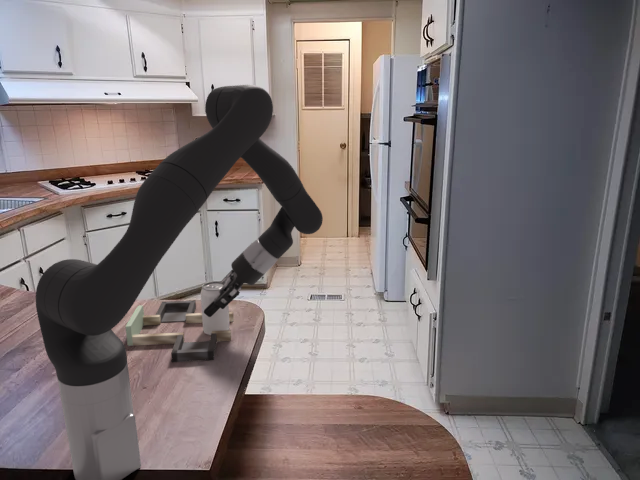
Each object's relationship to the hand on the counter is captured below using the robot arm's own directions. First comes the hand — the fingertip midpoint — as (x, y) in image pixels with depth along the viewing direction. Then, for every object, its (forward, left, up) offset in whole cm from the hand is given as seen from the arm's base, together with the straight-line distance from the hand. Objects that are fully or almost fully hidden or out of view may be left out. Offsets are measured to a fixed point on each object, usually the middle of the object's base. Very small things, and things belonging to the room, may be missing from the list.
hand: (208, 307), depth 112 cm
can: (-1, -1, -6) cm, 7 cm away
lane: (+4, +4, -6) cm, 8 cm away
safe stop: (+12, +12, -6) cm, 19 cm away
